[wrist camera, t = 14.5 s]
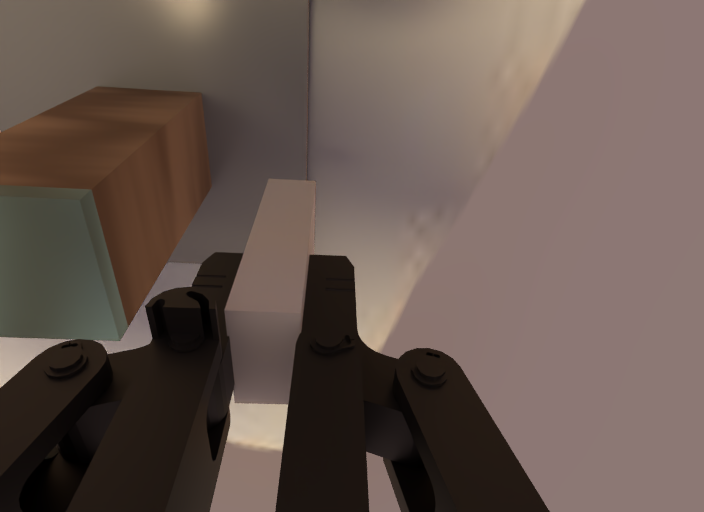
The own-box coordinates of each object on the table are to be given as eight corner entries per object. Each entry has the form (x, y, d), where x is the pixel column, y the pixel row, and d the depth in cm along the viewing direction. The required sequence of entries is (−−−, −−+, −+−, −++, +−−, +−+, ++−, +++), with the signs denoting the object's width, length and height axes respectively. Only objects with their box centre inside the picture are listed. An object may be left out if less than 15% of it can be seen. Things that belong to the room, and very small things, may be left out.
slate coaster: (53, 248, 25) (45, 256, 24) (-51, -58, 17) (-67, -59, 17) (305, 260, 26) (304, 268, 25) (309, -29, 18) (308, -29, 18)
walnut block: (119, 181, 22) (-42, 335, 13) (97, 86, 20) (-121, 190, 10) (211, 186, 22) (120, 340, 13) (201, 92, 20) (79, 200, 11)
